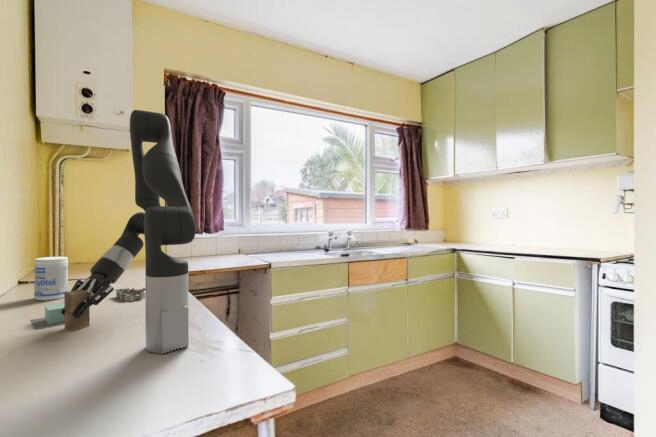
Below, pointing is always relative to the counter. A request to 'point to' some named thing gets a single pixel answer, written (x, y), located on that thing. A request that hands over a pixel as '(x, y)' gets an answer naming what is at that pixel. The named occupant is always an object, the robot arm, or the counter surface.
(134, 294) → the egg carton
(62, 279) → the supplement tub
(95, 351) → the counter surface
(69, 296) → the pillar
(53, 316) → the plinth
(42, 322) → the mat
